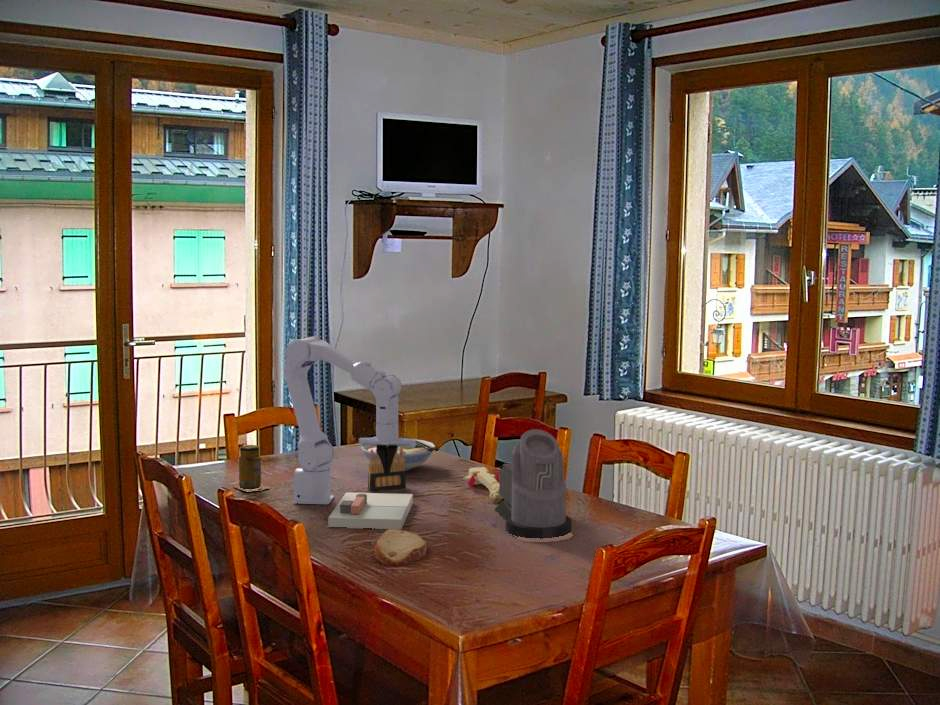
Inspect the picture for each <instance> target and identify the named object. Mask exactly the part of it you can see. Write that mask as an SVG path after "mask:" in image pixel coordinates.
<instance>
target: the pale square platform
mask: <svg viewBox="0 0 940 705" xmlns="http://www.w3.org/2000/svg"><path fill="white" fill-rule="evenodd" d="M357 494H366V495H367V503H366V504H364V506H363V508H362V509H361V511H360V512H359V514H351V504H352V503H353V501H354V500H355V498H356V495H357ZM413 500H414V494H413V493H383V492H381V493H379V492H378V493H377V492H375V493H373V492H345V494H344V495H343V497H342V498H341V499H340V501H339V502H338V504H337V505H336V506H335V507H334V509H333V510H332V512H331V514H329V516H328V518H327V520H328V521H327V522H328V525H327V526H328V527H347V528H346V529H363V528H372V529H373V530H389V529H396V530H402V529H403V526H404V524H405V522H406V519H407V517H408V515H409V512H410V511H411V508H412V506H413V502H414V501H413ZM374 528H375V529H374ZM372 529H371V530H372Z"/></svg>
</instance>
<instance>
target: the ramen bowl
mask: <svg viewBox="0 0 940 705" xmlns="http://www.w3.org/2000/svg"><path fill="white" fill-rule="evenodd" d="M401 438H407V439H412V438H411V437H409V436H405V435H401ZM414 439H415V448H411V447H402V448H403V453H404V471H405V472H409V471H410V470H411V469H414V468H417V467H419V466H421V465H423V464H424V463H425V462H427V460H428V459H429V458H430V457H431V455H432V453H433V452H439V449H438V448H436V445H435V444H434V443H433V442H430V441H426V440H424V439H423V440H422V439H416V438H414ZM360 448H361V450H362V453H364V456H365V457H366V458H367V460H368V462H369V461H370V451H371V449H372V450H373V453H374V463H375V459H376V449H377V446H363V447H360ZM400 448H401V447H398V449H397V453H398V470H399V453H400ZM380 463H381V460H380ZM392 470H393V462H392Z"/></svg>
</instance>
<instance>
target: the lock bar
mask: <svg viewBox="0 0 940 705" xmlns="http://www.w3.org/2000/svg"><path fill="white" fill-rule="evenodd" d="M366 503H367V495H366V494H357V495H356V498H355V500H354V501H353V503H352V504H351V514H359V512H360V511H361V509H362V508H363V506H364V504H366Z"/></svg>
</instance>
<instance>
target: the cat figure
mask: <svg viewBox="0 0 940 705" xmlns="http://www.w3.org/2000/svg"><path fill="white" fill-rule="evenodd" d="M491 472H494V474H492V473H490V472H489V470H488V469H487V468H486V467H484V466H482V467H477V466H476V467H470V468H469V469H468V472H467V474H468V475H466V476H463V481H465V482H467V484H468V485H467V486H469V487H470V489H472V490H473V491H476V486H475V485H483V486H485V487H486V488H487V489H488V491H489V498H490V499H491V503H494V504H499V503H501V500H502V501H505V499H504V498H503V497H502V496H501V495H500V494H499V493H500V473H499V472H498V471H496V470H492V471H491ZM503 499H504V500H503Z"/></svg>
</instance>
